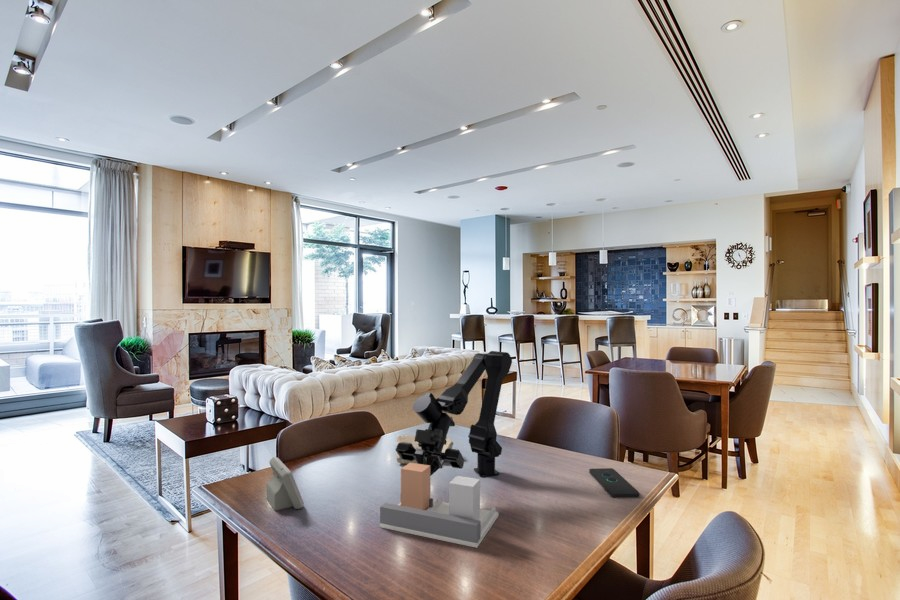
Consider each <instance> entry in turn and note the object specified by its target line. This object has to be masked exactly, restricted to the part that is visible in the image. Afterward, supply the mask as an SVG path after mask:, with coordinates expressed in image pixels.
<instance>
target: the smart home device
mask: <svg viewBox="0 0 900 600" xmlns="http://www.w3.org/2000/svg"><path fill="white" fill-rule="evenodd" d="M588 470H589V474H590V476H592V478H593V479H594V480H595V481H596V483H598V484H599V485H600V486H601V487H602V488H603V490H604V491H605V492H606V493H607V494H609V496H610V497H612V498H615V499H618V498H619V499H621V498H622V499H625V498H626V499H627V498H628V499H631V498H632V499H633V498H640V492H639V490H637V489H636V488H635V487H634V486H633V485H632V484H631V483H630V482H628V481H627V480H626V479H625V478H624V477H623V476H622V475H621V474H620V473H619V472H618V471H616V470H615V469H614V468H612V467H611V468H610V467H609V468H603V467H602V468H601V467H600V468H589V469H588Z"/></svg>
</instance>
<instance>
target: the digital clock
mask: <svg viewBox="0 0 900 600" xmlns="http://www.w3.org/2000/svg"><path fill="white" fill-rule="evenodd" d="M269 466H270V467H271V470H272V477H271V479H270V480H269V481H268V482H267V483H266V501H268V503H269V504H270V505H271V508H273V510H274V511H281V510H284V509H288V508H292V507H293V508H294V509H295V510H300V509H302V508H303V506H304V505H305V502H304V500H303V498H302V495H301V492H300V490H299V488H298V486H297V483H296V480H295V478H294V475H293V472H292V471H291V470H290V469H289V468H288V466H286V464H284V463H283V461H282V460H281V459H280V458H279V457H278V456H277V457H275V456H273V457H271V458H270V460H269Z"/></svg>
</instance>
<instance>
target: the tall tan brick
mask: <svg viewBox="0 0 900 600" xmlns="http://www.w3.org/2000/svg"><path fill="white" fill-rule="evenodd" d="M430 498H431V476H430V465H423V464H416V463H409V464H405V465H404V466H403V467H400V502H401V506H405V507H411V508H416V509H421V510H427V509H428V508H429V499H430Z"/></svg>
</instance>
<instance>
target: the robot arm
mask: <svg viewBox="0 0 900 600" xmlns="http://www.w3.org/2000/svg"><path fill="white" fill-rule="evenodd" d="M512 363H513V359H512V356H511V355H510V353H509V352H507V351H496V350H491V351H489V352H488V353H482V352H481V353H480V352H478V353H476V354H474V355H473V357H472V360H471V362H470V363H469V365H467V367H466V369H465V370H464V372H462V374H461V376H460V377H459V379H458V380H457V381H456V382H455V383H454V384H453V385H451V386H450V387H448V388H447V389H445V390H444V391H443V393H441V394H440V396H438V397H437V398H436V397H435V396H434V394H433V393H432V392H428V391H427V392H425V394H424V395H421V396H420V397H418V398H417V399H416V400H414V402H413V404H412V409H413V411H414V413H416V415H417V416H418V417H420V418H421V420H423V422H425V424H428V428H425V429H416V431H415V435H414V436H415V440H414V441H415V442H416V441H417V442H419V443H418V445H419V447H421V449H419V448H416V449H415V448H414V447H413V445H412V443H404V442H400V443H399V444H398V443H397V445H396V448H395V451H396V453H398V455H399V456H400V457H401V459H403V460H406V461H413V460H416V461H417V463H418V464H423V465H430V477H431V476H433V474H434V473H436V472H437V471H438V470H439V469H443V467H444V466H443V463H444V461H446V462H449V464H450V466H451V467H452V468H454V469H460V470H461V469H463V468H464V464H465V459H464V456H463V454H462V453H461V451H460V449H456V448H455V449H454V448H452V449H449V448H447V449H446V450H445V453H442V449H443V446H444V445H446V442H447V441H446V437H447V435H448V432H449V429H450V427H456V426H455V425H456V424H455V423H456V422H455V421H454V419H453V417H452V416H450V415H453V416H458V415H459V416H460V415H461V414H462V413H463V412H464V410H465V408H466V407H467V406H466V405H467V404H468V402H469V397H468V396H469V394H470V392H471V391H472V389H473V388H474V387H475V385H476V384H477V382H478V381H479V379H480V378H481V376H482V375H483V373H484V372H486V375H487V377H486V383H485V389H484V394H483V399H482V402H481V408H480V412H479V416H478V420H477V422H475V424H471V425H470V427H469V428H470V429H469V434H468V444H469V446H470V449H471V453H475V454H477V458H476V459H477V462H476V463H477V467H475V468H473V471H474V472H475V473H476V474H477V476H479V477H482V478H483V477H489V476H499V475H500V472H499V471H498V470H497V469H496V458H498V457H500V456H501V455H502V451H503V447H502V446H501V445H500V444H499V442H498V441H497V436H498V433H497V430H496V427H495V419H496V416H497V410H498V404H499V399H500V395H501V389H502V386H503V385H502V384H503V380H504V379H505V378H506V376H508V374H509V373H510V370H511V367H512ZM449 414H450V415H449ZM426 460H427V461H426Z"/></svg>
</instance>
